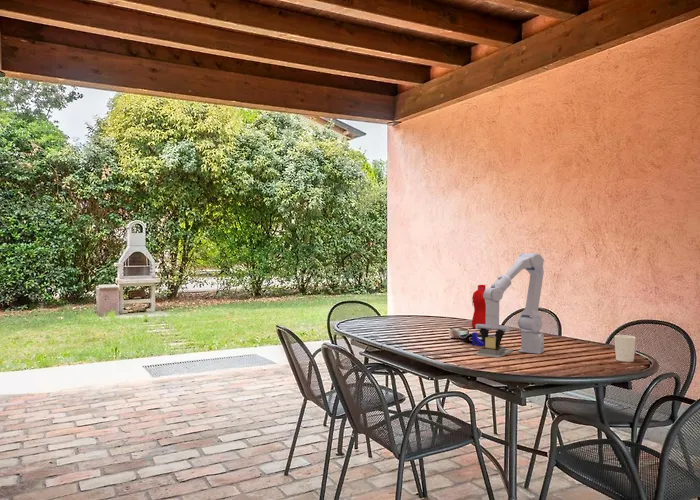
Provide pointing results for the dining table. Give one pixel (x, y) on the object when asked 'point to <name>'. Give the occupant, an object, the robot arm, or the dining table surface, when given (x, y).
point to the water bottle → (479, 306)
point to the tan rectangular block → (490, 343)
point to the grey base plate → (494, 352)
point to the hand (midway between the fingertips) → (491, 346)
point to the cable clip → (477, 340)
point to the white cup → (625, 348)
